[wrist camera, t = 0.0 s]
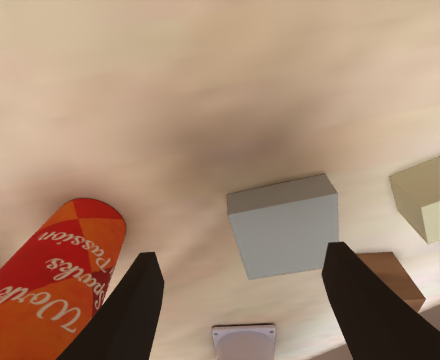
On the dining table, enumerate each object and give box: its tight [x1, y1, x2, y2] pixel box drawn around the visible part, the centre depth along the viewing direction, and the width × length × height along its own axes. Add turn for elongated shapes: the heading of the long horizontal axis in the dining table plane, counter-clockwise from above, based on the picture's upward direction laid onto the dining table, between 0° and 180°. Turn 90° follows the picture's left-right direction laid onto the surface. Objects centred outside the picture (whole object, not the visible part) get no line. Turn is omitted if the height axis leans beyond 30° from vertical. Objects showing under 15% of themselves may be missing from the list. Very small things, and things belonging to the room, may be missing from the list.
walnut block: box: [356, 252, 426, 313], centre depth 24 cm, size 4×4×5 cm
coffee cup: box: [0, 198, 126, 360], centre depth 17 cm, size 8×8×15 cm
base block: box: [227, 174, 339, 280], centre depth 22 cm, size 8×8×3 cm
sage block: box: [389, 156, 440, 244], centre depth 19 cm, size 4×4×4 cm
